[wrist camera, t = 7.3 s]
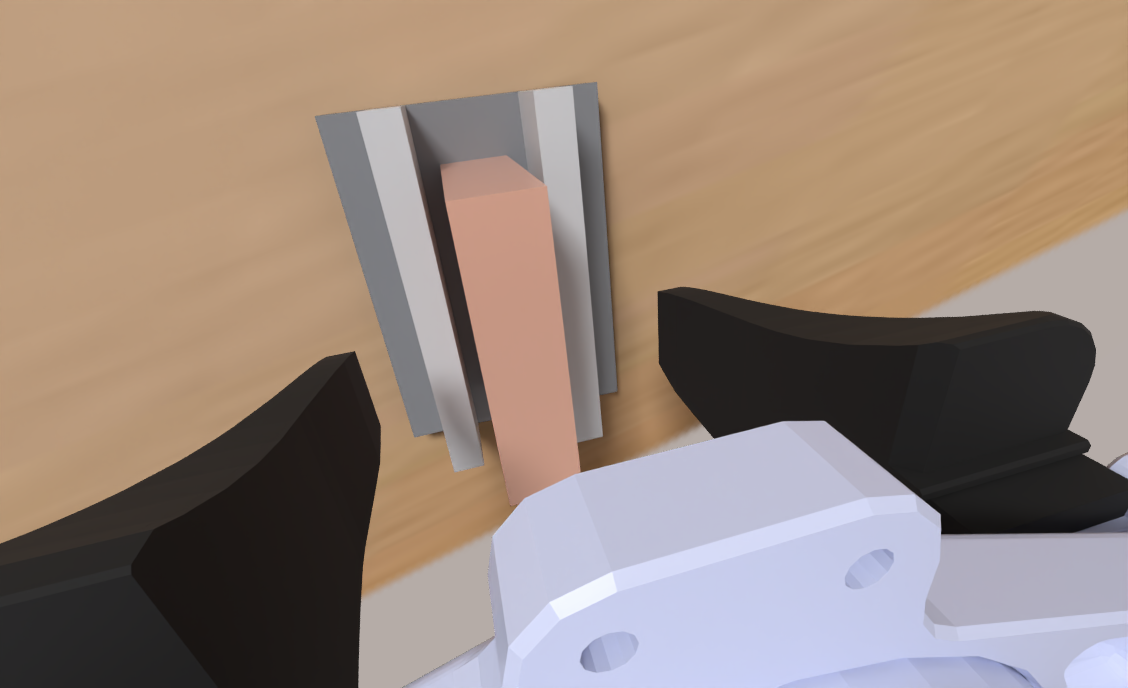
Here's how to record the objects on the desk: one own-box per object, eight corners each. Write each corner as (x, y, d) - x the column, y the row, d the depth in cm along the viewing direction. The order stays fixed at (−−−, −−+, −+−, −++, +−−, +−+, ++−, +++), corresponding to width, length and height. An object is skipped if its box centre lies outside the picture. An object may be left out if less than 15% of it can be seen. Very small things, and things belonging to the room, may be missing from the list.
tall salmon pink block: (487, 390, 18) (510, 505, 13) (439, 164, 15) (445, 201, 9) (540, 378, 19) (582, 487, 13) (506, 155, 15) (546, 185, 10)
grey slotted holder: (415, 422, 19) (412, 482, 16) (321, 115, 14) (292, 119, 11) (609, 378, 21) (640, 427, 18) (587, 82, 16) (625, 79, 13)
